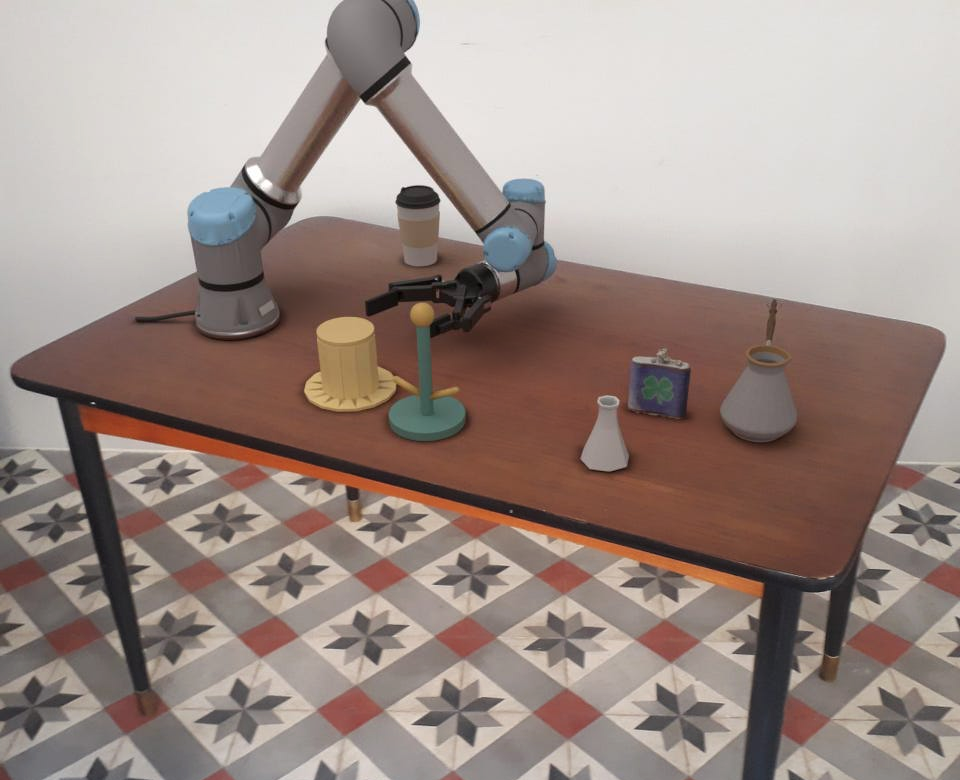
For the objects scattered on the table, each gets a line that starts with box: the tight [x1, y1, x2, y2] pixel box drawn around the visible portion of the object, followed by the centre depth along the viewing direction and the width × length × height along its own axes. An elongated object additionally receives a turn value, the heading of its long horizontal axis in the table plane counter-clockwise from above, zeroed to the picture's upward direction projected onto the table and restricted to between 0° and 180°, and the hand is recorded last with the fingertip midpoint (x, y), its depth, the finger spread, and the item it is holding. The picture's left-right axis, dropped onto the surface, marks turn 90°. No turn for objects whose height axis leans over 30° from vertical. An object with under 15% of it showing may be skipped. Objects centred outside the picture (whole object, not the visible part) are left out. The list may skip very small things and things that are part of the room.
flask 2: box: [627, 348, 692, 420], centre depth 162 cm, size 9×3×11 cm, turn 71°
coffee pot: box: [719, 299, 798, 443], centre depth 160 cm, size 21×12×15 cm, turn 164°
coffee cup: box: [395, 184, 442, 267], centre depth 212 cm, size 9×9×15 cm
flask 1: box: [580, 394, 630, 472], centre depth 151 cm, size 7×7×10 cm
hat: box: [303, 316, 398, 413], centre depth 170 cm, size 15×15×11 cm
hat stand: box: [388, 301, 467, 442], centre depth 158 cm, size 12×12×20 cm
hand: (392, 321), depth 173 cm, fingers open, 13 cm apart
